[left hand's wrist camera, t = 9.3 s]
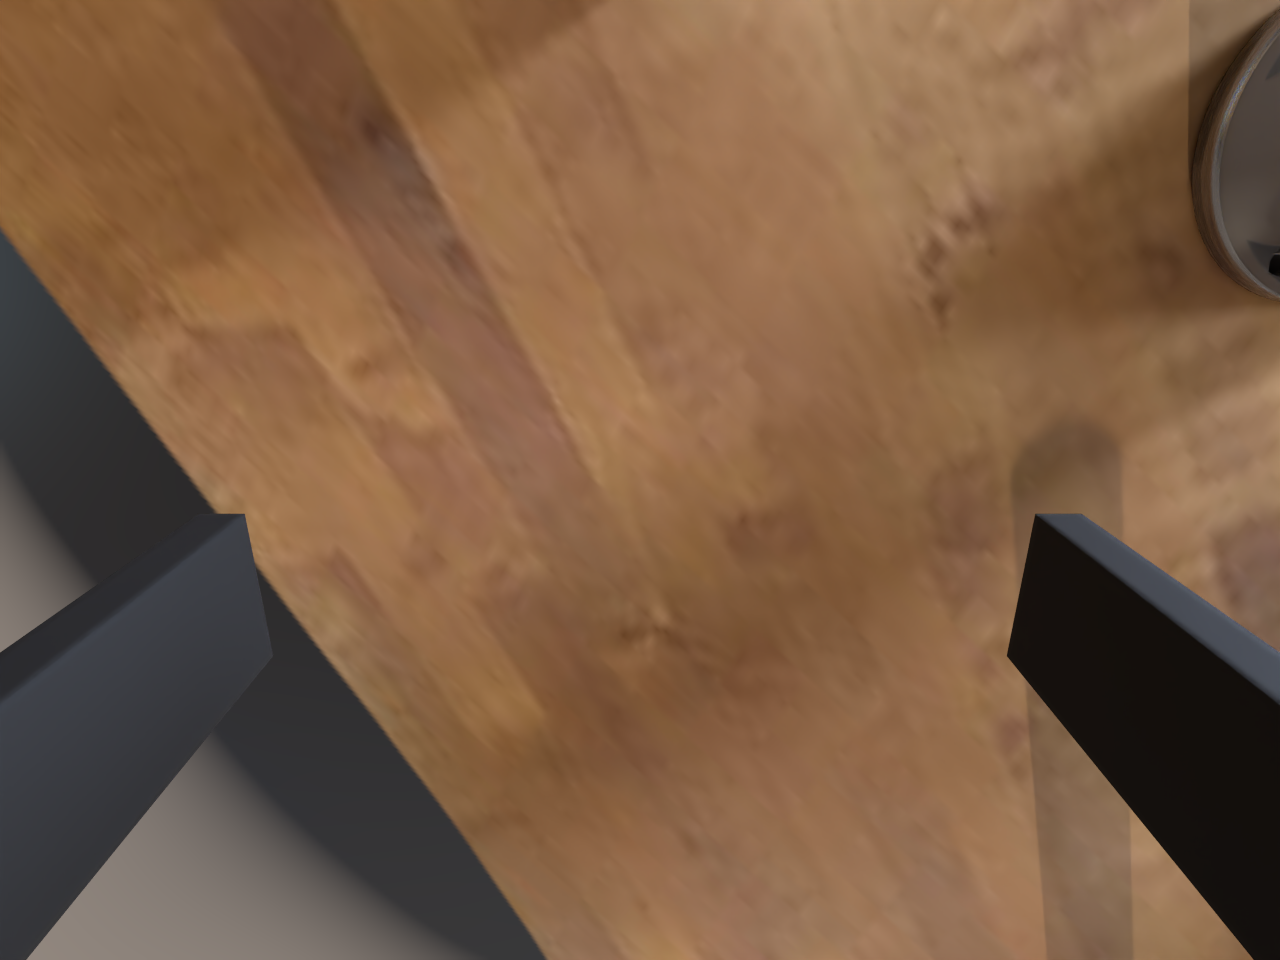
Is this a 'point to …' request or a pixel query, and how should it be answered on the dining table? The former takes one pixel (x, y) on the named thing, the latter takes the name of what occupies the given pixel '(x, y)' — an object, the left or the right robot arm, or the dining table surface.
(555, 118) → the dining table surface
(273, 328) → the dining table surface
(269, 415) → the dining table surface
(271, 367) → the dining table surface
